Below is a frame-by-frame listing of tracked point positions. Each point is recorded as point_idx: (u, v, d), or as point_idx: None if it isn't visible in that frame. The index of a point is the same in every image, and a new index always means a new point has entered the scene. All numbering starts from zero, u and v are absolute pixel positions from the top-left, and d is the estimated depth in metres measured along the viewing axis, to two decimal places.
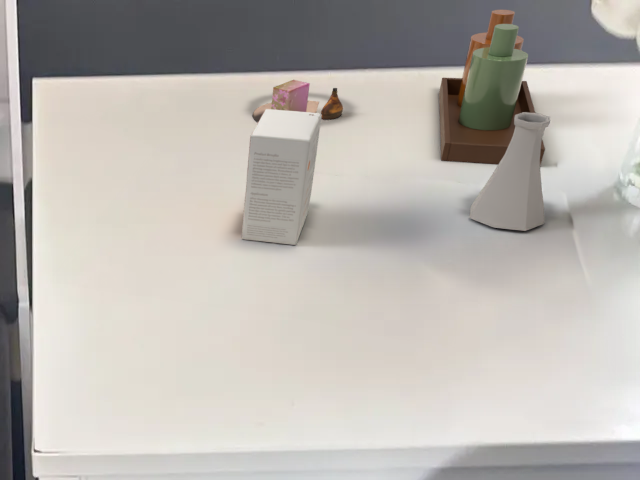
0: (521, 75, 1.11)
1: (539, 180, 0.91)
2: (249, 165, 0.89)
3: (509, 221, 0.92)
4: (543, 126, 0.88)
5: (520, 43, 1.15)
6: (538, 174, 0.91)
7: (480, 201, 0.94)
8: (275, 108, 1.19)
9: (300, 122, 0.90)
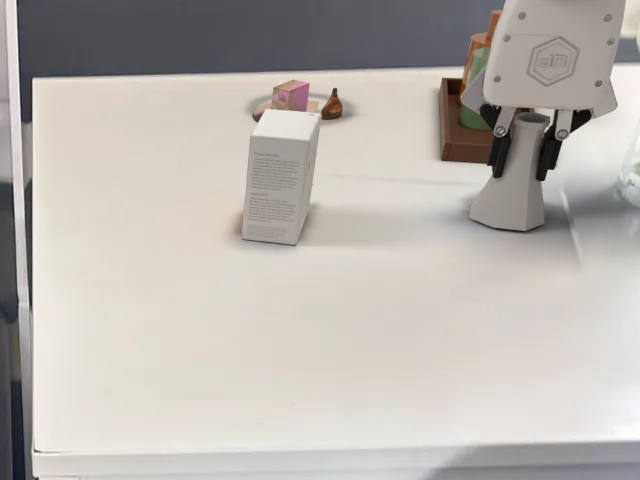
0: None
1: None
2: (249, 165, 0.89)
3: (509, 221, 0.92)
4: (543, 126, 0.88)
5: None
6: None
7: (480, 201, 0.94)
8: (275, 108, 1.19)
9: (300, 122, 0.90)
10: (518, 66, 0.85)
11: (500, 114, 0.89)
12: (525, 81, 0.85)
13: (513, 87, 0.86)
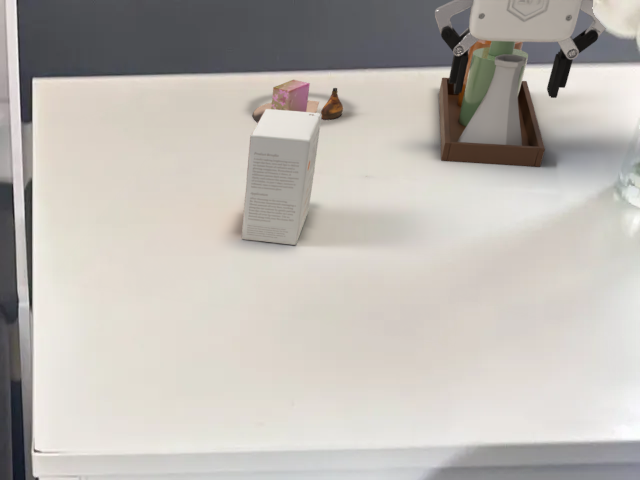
0: (521, 75, 1.11)
1: (516, 113, 1.05)
2: (249, 165, 0.89)
3: None
4: (519, 65, 1.02)
5: (520, 43, 1.15)
6: (516, 108, 1.05)
7: (466, 134, 1.07)
8: (275, 108, 1.19)
9: (300, 122, 0.90)
10: (499, 4, 0.98)
11: None
12: (505, 17, 0.98)
13: (495, 23, 0.99)
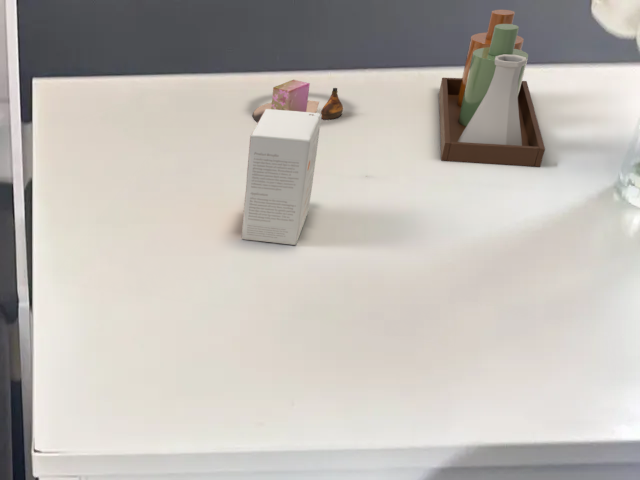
0: (521, 75, 1.11)
1: (516, 113, 1.05)
2: (249, 165, 0.89)
3: None
4: (519, 65, 1.02)
5: (520, 43, 1.15)
6: (516, 108, 1.05)
7: (466, 134, 1.07)
8: (275, 108, 1.19)
9: (300, 122, 0.90)
10: None
11: None
12: None
13: None
